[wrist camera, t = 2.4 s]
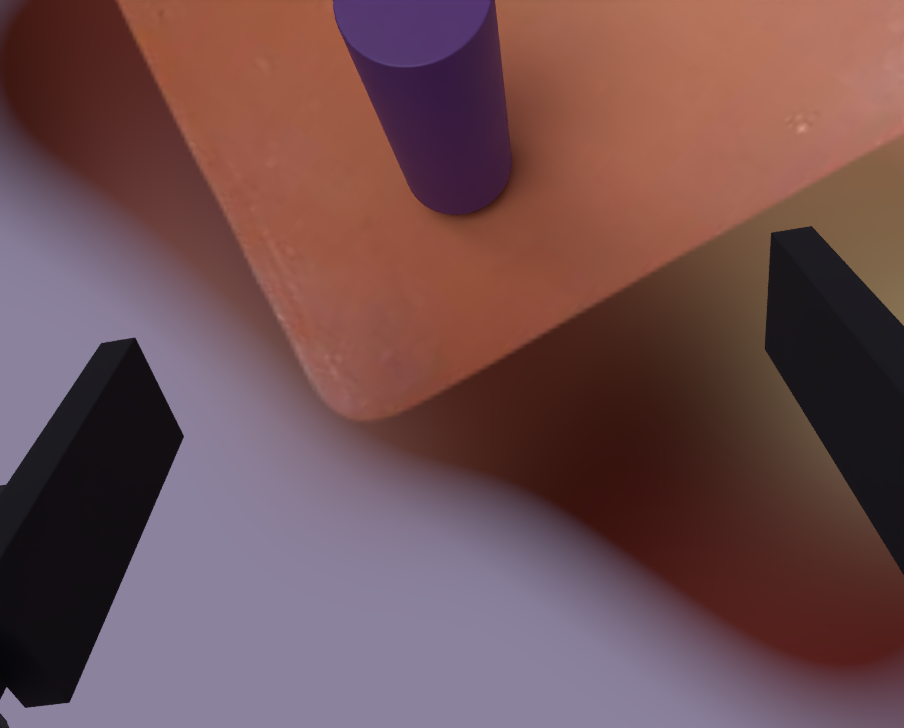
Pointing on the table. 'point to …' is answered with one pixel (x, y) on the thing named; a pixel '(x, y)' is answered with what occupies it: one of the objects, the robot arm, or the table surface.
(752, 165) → the table surface
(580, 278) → the table surface
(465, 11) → the purple cylinder
